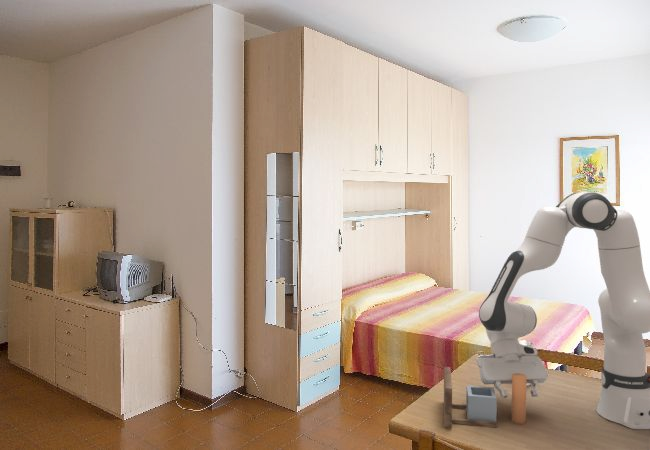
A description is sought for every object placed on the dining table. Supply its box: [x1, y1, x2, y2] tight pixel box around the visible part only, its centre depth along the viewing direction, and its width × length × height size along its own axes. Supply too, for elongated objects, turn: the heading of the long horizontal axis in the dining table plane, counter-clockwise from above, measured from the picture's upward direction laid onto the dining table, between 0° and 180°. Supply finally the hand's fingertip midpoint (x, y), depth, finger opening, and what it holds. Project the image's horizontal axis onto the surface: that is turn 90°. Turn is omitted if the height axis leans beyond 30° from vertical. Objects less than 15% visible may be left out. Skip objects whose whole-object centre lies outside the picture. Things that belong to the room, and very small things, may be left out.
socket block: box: [465, 384, 498, 422], centre depth 155 cm, size 8×8×8 cm
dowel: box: [511, 373, 527, 425], centre depth 152 cm, size 4×4×14 cm
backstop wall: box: [443, 366, 498, 429], centre depth 155 cm, size 15×18×12 cm
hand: (519, 396), depth 151 cm, fingers open, 8 cm apart
